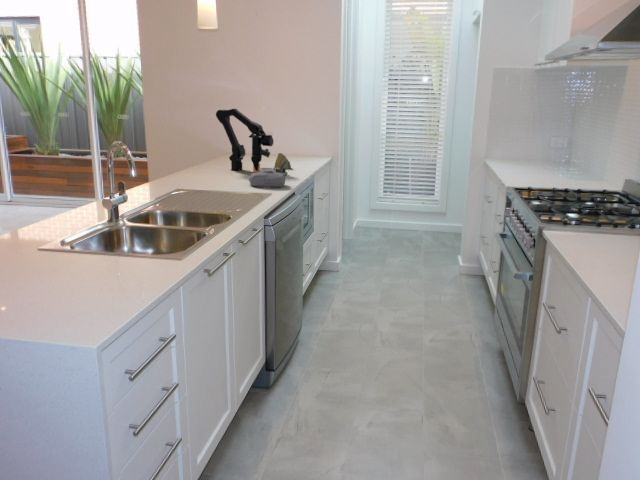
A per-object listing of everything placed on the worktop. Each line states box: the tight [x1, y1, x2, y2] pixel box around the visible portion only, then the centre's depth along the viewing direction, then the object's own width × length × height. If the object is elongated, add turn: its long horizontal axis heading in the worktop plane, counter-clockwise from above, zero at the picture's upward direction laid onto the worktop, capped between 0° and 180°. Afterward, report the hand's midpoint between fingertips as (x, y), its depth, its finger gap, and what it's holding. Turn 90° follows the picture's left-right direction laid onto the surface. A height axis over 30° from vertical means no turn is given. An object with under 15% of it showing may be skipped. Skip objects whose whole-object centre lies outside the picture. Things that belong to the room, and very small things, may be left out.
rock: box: [273, 152, 292, 170], centre depth 368 cm, size 11×9×10 cm
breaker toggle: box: [279, 159, 289, 171], centre depth 341 cm, size 2×3×8 cm
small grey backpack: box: [248, 171, 286, 189], centre depth 306 cm, size 15×8×20 cm
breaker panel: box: [260, 167, 287, 177], centre depth 347 cm, size 16×17×4 cm
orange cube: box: [252, 162, 261, 173], centre depth 352 cm, size 4×4×5 cm
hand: (256, 170), depth 352 cm, fingers closed on orange cube, 4 cm apart
